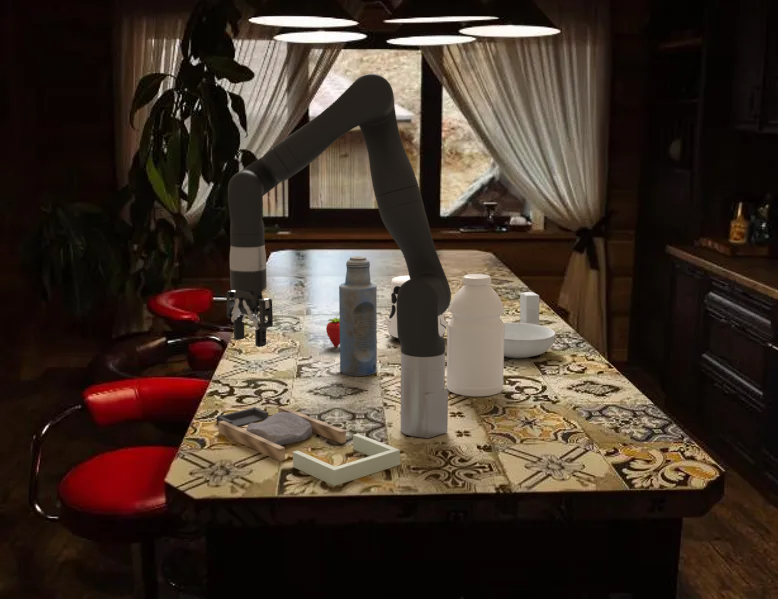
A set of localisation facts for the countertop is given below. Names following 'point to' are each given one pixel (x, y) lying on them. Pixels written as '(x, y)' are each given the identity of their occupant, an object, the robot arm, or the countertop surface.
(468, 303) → the bottle
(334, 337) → the strawberry
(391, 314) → the milk container
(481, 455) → the countertop surface
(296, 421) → the stone block
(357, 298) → the bottle
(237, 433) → the channel
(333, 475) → the u-shaped green frame
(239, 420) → the dark gray shallow tray
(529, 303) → the skincare box
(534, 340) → the serving bowl
